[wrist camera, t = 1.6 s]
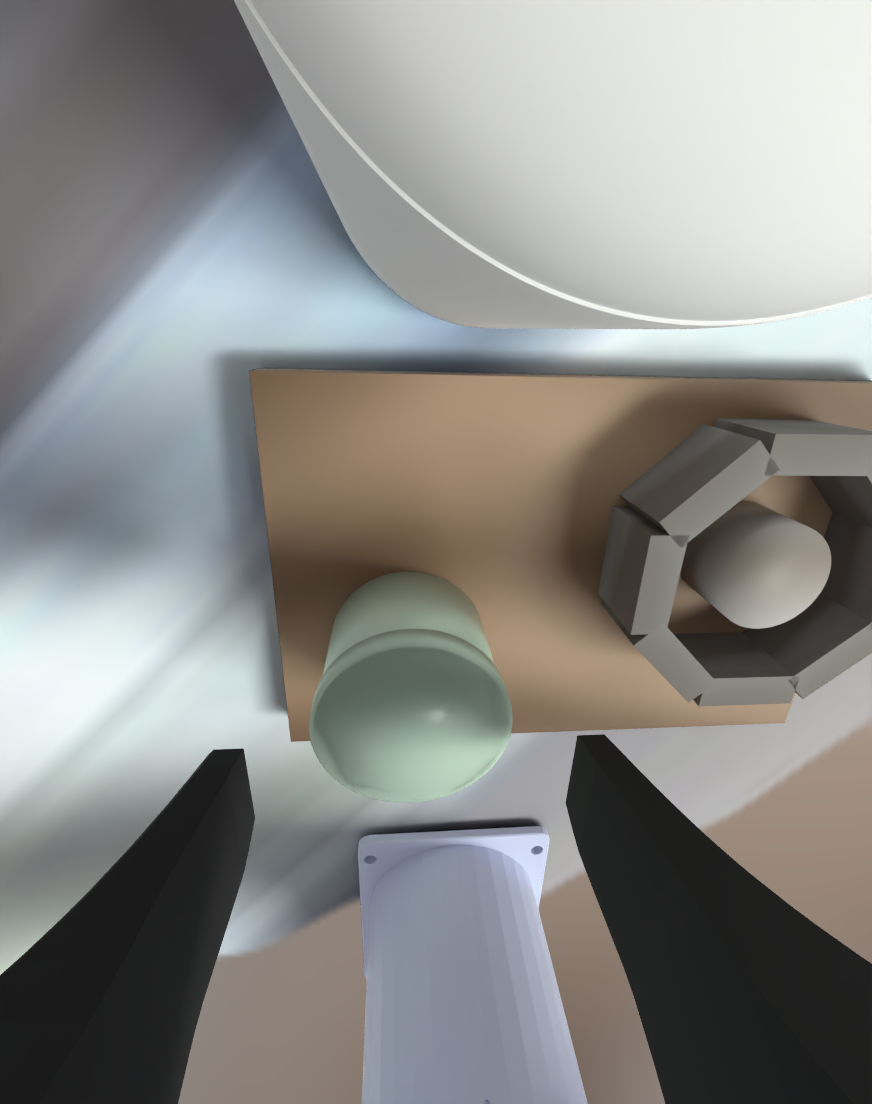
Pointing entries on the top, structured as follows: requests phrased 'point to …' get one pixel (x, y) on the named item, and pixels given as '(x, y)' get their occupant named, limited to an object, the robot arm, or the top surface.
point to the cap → (409, 692)
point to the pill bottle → (590, 153)
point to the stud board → (583, 531)
